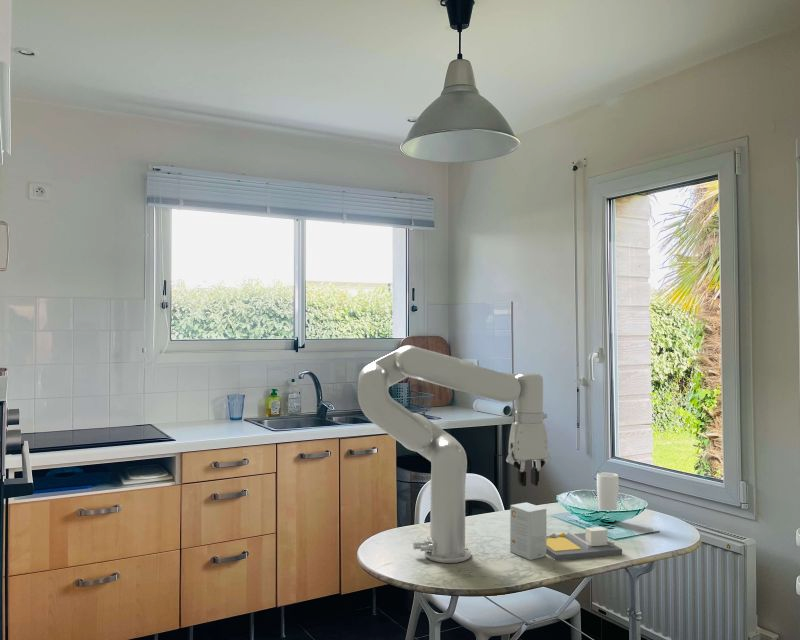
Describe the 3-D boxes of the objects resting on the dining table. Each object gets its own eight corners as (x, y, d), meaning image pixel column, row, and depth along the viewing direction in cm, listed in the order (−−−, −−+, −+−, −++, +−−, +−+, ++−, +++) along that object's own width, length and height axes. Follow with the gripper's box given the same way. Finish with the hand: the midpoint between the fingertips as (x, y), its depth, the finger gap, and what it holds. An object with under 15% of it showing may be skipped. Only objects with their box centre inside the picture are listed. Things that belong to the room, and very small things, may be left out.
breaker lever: (591, 546, 184) (591, 531, 184) (585, 542, 187) (585, 527, 187) (607, 545, 185) (607, 529, 185) (601, 541, 188) (601, 526, 188)
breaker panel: (555, 560, 177) (555, 551, 177) (531, 542, 192) (531, 533, 192) (622, 554, 182) (622, 545, 182) (593, 537, 197) (593, 528, 197)
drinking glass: (610, 517, 217) (610, 471, 217) (622, 523, 211) (623, 476, 211) (592, 518, 215) (592, 472, 215) (604, 525, 209) (604, 477, 209)
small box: (547, 556, 181) (547, 508, 181) (529, 560, 177) (529, 512, 177) (526, 547, 187) (526, 501, 188) (509, 551, 184) (509, 504, 184)
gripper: (549, 415, 188) (549, 480, 188) (496, 417, 184) (495, 483, 184) (562, 419, 181) (561, 486, 181) (506, 421, 177) (506, 490, 177)
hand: (528, 484), depth 182 cm, fingers open, 2 cm apart
